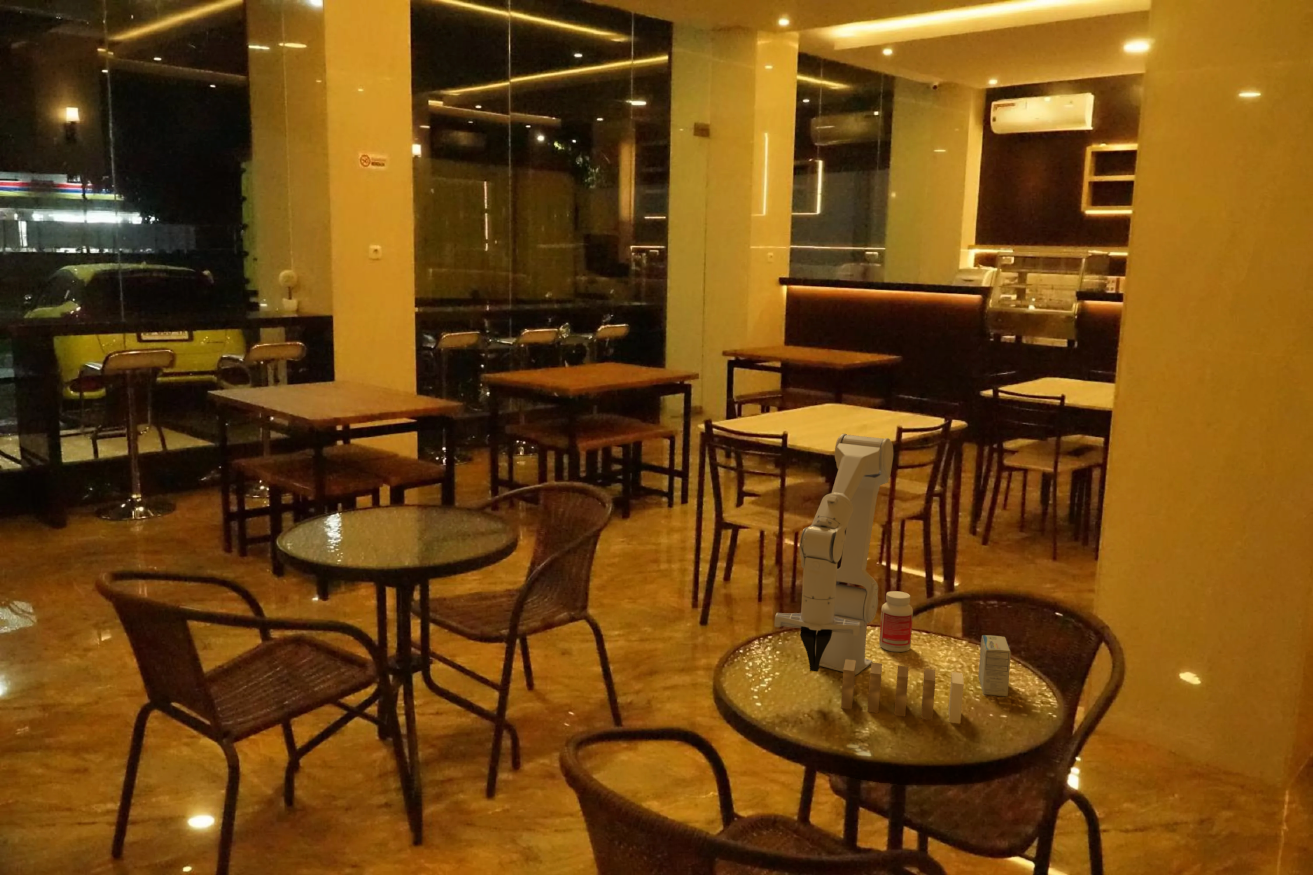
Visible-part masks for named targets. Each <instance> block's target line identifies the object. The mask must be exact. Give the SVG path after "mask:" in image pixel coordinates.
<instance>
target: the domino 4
mask: <svg viewBox="0 0 1313 875" xmlns="http://www.w3.org/2000/svg"><path fill="white" fill-rule="evenodd" d="M923 670H924V671H923V682H922V695H921V696H922V699H921V719H922V720H929V721H933V716H934V706H935V705H934V704H935V703H934V702H935V693H936V692H935V691H936V669H930V668H924V669H923Z"/></svg>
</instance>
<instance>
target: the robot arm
mask: <svg viewBox="0 0 1313 875" xmlns="http://www.w3.org/2000/svg"><path fill="white" fill-rule="evenodd" d="M834 459H835V462H836V463H835V464H836V468H837V473H836V476H835V480H834V484H833V486H832V490H831V492H830V493H828V494H826V495H824V496H823V497H822V499H821V501H820V504H819V506H818V508H817V511H816V514H815V515H814V518H813V520H812V522H811V525H809V526H807V527H805V528H803V530H802V532H801V535H800V539H799V545H798V548H799V555H800V567H801V568H802V569H803V571H802V591H801V609H800V612H799V613H797V612H794V613H790V612H789V613H785V612H784V613H782V612H776V614H775V616H774V628H781V627H788V628H796V629H800V634H799V636H800V639H801V642H802V643H803V646H804V648H805V651H806V655H807V659H808V664H809V671H810V672H816V673H817V672H819V669H820V667H824V668H827V669H831V670H834V671H838V672H842V673H843V669H844V664H845V660H846V659H848V660H856V667H855V676H857V675H858V674H859V673H861V672H862V671H864V670H865V669H866V668H868V667H869V666H871V663H872V662H873V660H872V659H869V658H866V647H867V646H866V644H867V632H868V631H867V630H868V629H867V628H868V624H869V623H871V622H872V621H874V619H875V617H876V615H877V611H878V604H879V597H878V593H879V585H878V582H877V581H876V580H875V579H874V577H873V576H871V575H870V573H869V572H868V571H867V565H868V558H869V551H870V545H871V538H872V531H873V524H874V518H875V512H876V506H877V497H878V495H879V490H880V487H881V486H882V485H886V484H887V483H889V481H890V477H891V472H892V467H893V460H894V446H893V442H892V440H891V439H890V438H889V437H885V438H881V437H880V438H879V437H871V436H865V435H864V436H860V435H851V434H846V433H842V434H840V436H838V438H837V440H836V443H835V447H834ZM840 560H841V563H840V567H839V568H838V563H839V561H840ZM840 583H845V584H852V585H857V586H862V587H863V588H862V587H856V586H852V585H845V584H840Z"/></svg>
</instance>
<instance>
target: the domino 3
mask: <svg viewBox="0 0 1313 875" xmlns="http://www.w3.org/2000/svg"><path fill="white" fill-rule="evenodd" d="M908 681H909V666H906V665H897V673H896V685H895V686H896V687H895V688H896V689H895V699H894V700H895V702H894V716H897V717H899V716H900V717H906V710H907V697H908V696H907V695H908V684H909V682H908Z"/></svg>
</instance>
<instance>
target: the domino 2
mask: <svg viewBox="0 0 1313 875" xmlns="http://www.w3.org/2000/svg"><path fill="white" fill-rule="evenodd" d="M882 670H883V663H882V662H881V663H880V662H873V661H872V663H871V664H870V672H869V681H868V682H869V683H868V698H867V699H868V700H867V712H870V713H879V711H880V710H879V708H880V707H879V706H880V700H881V699H880V698H881V685H882Z"/></svg>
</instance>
